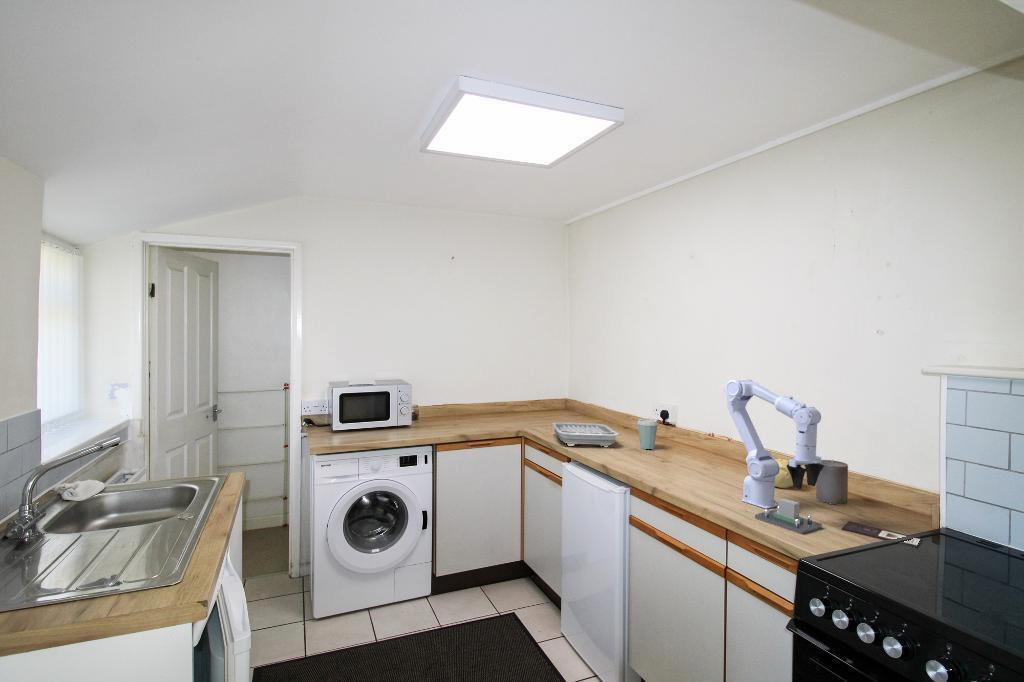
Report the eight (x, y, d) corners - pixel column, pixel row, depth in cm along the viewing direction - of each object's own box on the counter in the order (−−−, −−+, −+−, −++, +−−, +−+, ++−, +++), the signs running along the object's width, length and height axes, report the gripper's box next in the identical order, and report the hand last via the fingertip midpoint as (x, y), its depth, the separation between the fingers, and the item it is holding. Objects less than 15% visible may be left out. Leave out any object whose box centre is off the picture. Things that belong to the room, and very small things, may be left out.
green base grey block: (773, 516, 165) (774, 499, 165) (781, 514, 167) (781, 497, 167) (795, 524, 159) (796, 505, 158) (803, 521, 161) (804, 503, 161)
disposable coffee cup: (654, 452, 259) (655, 422, 258) (633, 449, 264) (634, 419, 264) (659, 448, 268) (660, 419, 268) (639, 445, 273) (640, 417, 273)
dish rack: (604, 436, 299) (605, 422, 299) (621, 450, 262) (622, 434, 262) (550, 435, 297) (550, 421, 297) (559, 449, 261) (559, 433, 261)
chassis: (755, 518, 166) (755, 508, 166) (775, 512, 172) (775, 503, 172) (801, 534, 154) (802, 523, 154) (822, 527, 159) (822, 517, 159)
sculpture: (793, 492, 197) (794, 463, 197) (759, 486, 204) (760, 458, 204) (798, 485, 206) (799, 458, 206) (765, 480, 213) (766, 453, 213)
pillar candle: (842, 498, 191) (843, 457, 191) (851, 506, 181) (852, 463, 181) (812, 495, 193) (813, 455, 193) (819, 503, 184) (820, 461, 184)
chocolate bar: (849, 521, 165) (921, 538, 152) (849, 524, 165) (920, 541, 152) (841, 528, 158) (916, 546, 146) (841, 531, 158) (915, 549, 146)
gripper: (805, 449, 161) (803, 493, 161) (831, 445, 168) (829, 487, 169) (783, 444, 167) (781, 486, 167) (809, 441, 174) (808, 481, 175)
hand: (804, 486), depth 168 cm, fingers open, 7 cm apart
